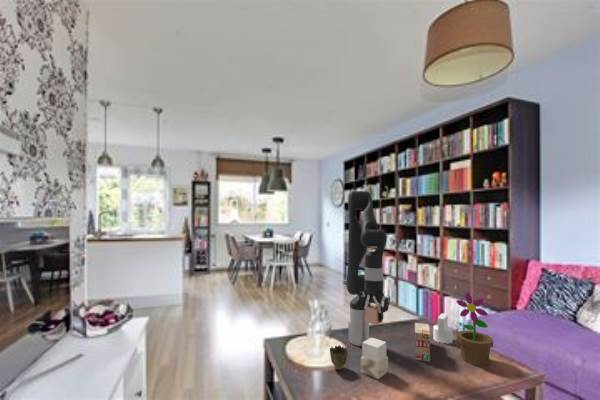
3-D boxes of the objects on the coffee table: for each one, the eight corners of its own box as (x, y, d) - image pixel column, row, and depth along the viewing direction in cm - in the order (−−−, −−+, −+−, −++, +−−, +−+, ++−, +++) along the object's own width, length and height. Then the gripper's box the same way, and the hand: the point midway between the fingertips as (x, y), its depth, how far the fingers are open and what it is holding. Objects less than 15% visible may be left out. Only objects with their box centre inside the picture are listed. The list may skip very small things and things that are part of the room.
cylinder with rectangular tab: (435, 335, 167) (435, 312, 167) (454, 339, 162) (454, 315, 162) (431, 340, 160) (431, 316, 160) (450, 345, 154) (450, 320, 155)
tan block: (365, 322, 130) (365, 307, 130) (371, 319, 133) (371, 304, 133) (376, 325, 126) (376, 310, 126) (382, 321, 130) (382, 307, 130)
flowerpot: (452, 360, 138) (451, 291, 139) (462, 350, 149) (461, 286, 150) (489, 372, 129) (488, 298, 129) (497, 360, 139) (496, 291, 140)
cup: (336, 374, 127) (336, 354, 127) (326, 366, 133) (326, 347, 133) (351, 370, 130) (351, 350, 130) (341, 362, 137) (341, 344, 137)
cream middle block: (362, 357, 129) (362, 342, 129) (371, 351, 134) (371, 337, 134) (377, 363, 124) (377, 347, 124) (386, 357, 129) (386, 342, 130)
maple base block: (360, 372, 129) (360, 357, 129) (370, 365, 135) (370, 350, 135) (378, 379, 123) (378, 363, 124) (387, 371, 129) (387, 357, 129)
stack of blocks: (415, 341, 159) (414, 316, 160) (428, 342, 157) (428, 317, 158) (415, 360, 139) (414, 331, 140) (430, 362, 137) (430, 333, 137)
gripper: (353, 276, 132) (354, 318, 132) (385, 282, 123) (385, 326, 122) (363, 274, 138) (363, 313, 137) (394, 279, 128) (394, 321, 128)
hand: (374, 319), depth 130 cm, fingers closed on tan block, 5 cm apart
